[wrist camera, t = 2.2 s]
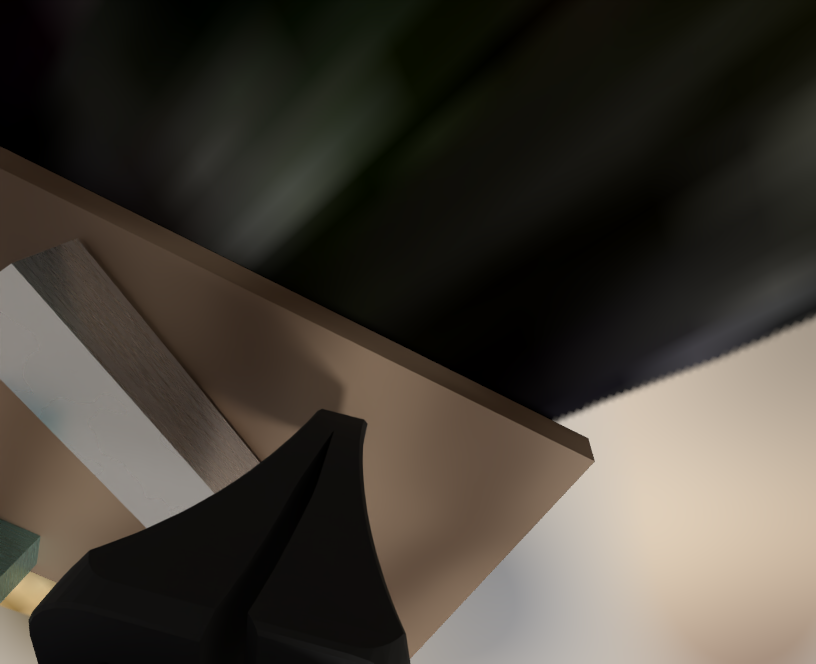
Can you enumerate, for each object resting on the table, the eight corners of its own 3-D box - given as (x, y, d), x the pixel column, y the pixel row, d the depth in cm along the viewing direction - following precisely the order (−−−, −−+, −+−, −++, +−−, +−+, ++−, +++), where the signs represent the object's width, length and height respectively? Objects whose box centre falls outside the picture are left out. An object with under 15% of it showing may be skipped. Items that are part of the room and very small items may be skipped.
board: (-79, 496, 21) (-104, 514, 20) (-98, 97, 13) (-141, 99, 12) (366, 686, 23) (361, 711, 22) (588, 438, 15) (594, 461, 14)
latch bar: (397, 614, 18) (381, 706, 15) (309, 633, 19) (281, 721, 17) (89, 229, 13) (-17, 269, 10) (-2, 292, 14) (-117, 342, 11)
